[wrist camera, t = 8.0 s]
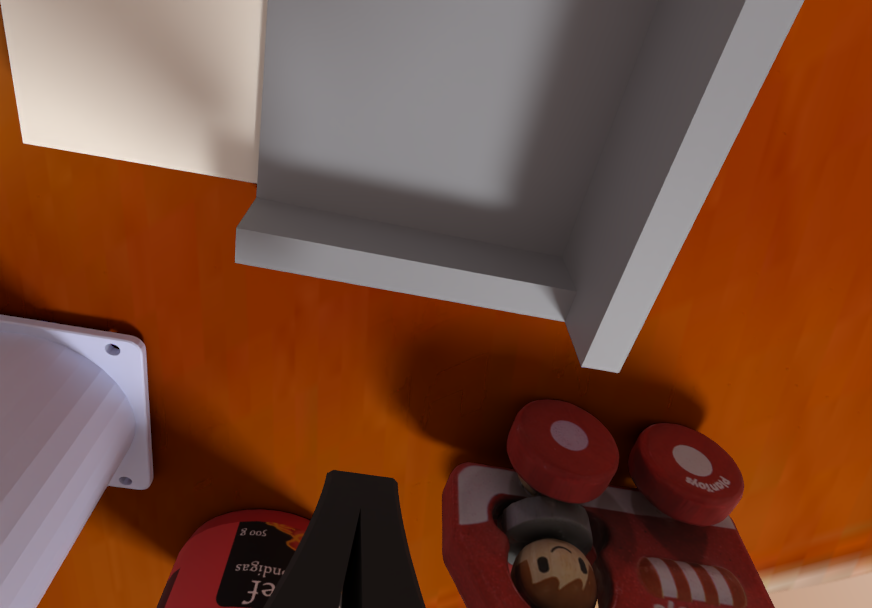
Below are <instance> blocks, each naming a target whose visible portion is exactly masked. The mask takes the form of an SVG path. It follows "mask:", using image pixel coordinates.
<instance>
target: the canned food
mask: <svg viewBox="0 0 872 608" xmlns="http://www.w3.org/2000/svg"><path fill="white" fill-rule="evenodd" d="M309 522H310V520H308V519H306V518H303V517H300V516H297V515H294V514H291V513H286V512H282V511H276V510H265V509H255V510H242V511H236V512H230V513H227V514H224V515H221V516H217V517H215V518H213V519H211V520H209V521H207V522H206V523H204V524H203V525H202V526H201V527H199V528H198V529H197V530H196V531H195V532H194V533H193V535H192V536H191V537H190V538H189V540H188V541H187V542H186V543H185V545H184V546H183V548H182V549H181V550H180V552H179V554H178V557H177V559H176V562H175V564H174V566H173V569H172V571H171V574H170V576H169V579H168V581H167V584H166V586H165V588H164V591H163V593H162V596H161V598H160V601H159V603H158V605H157V608H263V607H264V605H265V604H266V602H267V600H268V599H269V597H270V595H271V594H272V592H273V590H274V589H275V587H276V585H277V583H278V582H279V580H280V578H281V577H282V575H283V573H284V571H285V570H286V568H287V566H288V564H289V562H290V560H291V558H292V556H293V555H294V553H295V551H296V549H297V547H298V545H299V543H300V541H301V539H302V537H303V535H304V533H305V531H306V529H307V527H308V525H309ZM341 600H342V593H341V598H340V602H339V606H338V608H341Z"/></svg>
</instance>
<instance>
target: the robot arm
mask: <svg viewBox="0 0 872 608" xmlns="http://www.w3.org/2000/svg"><path fill="white" fill-rule="evenodd" d="M111 344H114V345H116V346H118V347H119V349H117V348H114V347H113V346H112V345H111ZM153 478H154V476H153V459H152V443H151V426H150V409H149V393H148V376H147V359H146V347H145V344H144V343H143V342H142V341H141V340H140V339H139V338H137V337H135V336H132V335H126V334H120V333H114V332H107V331H101V330H95V329H89V328H82V327H76V326H70V325H64V324H57V323H51V322H45V321H39V320H32V319H26V318H20V317H14V316H7V315H1V314H0V608H36V607H37V605H38V604H39V602H40V600H41V599H42V597H43V595H44V593H45V592H46V590H47V588H48V587H49V585H50V583H51V581H52V580H53V578H54V576H55V575H56V573H57V571H58V570H59V568H60V566H61V564H62V563H63V561H64V559H65V558H66V556H67V554H68V552H69V551H70V549H71V547H72V546H73V544H74V542H75V541H76V539H77V537H78V535H79V534H80V532H81V530H82V529H83V527H84V525H85V523H86V522H87V520H88V518H89V517H90V515H91V513H92V512H93V510H94V508H95V506H96V505H97V503H98V501H99V500H100V498H101V496H102V494H103V493H104V491H105V489H106V488H107V486H114V487H122V488H129V489H137V490H144V489H147V488H148V487H150V485H151V483H152V481H153ZM341 593H342V600H341V608H426V607H425V604H424V601H423V598H422V594H421V591H420V588H419V584H418V581H417V577H416V574H415V570H414V567H413V563H412V559H411V556H410V552H409V548H408V543H407V539H406V534H405V530H404V525H403V520H402V515H401V509H400V502H399V495H398V483H397V482H396V481H395V480H394V479H393V478H388V477H380V476H373V475H366V474H358V473H351V472H344V471H337V470H333V471H331V472H329V473H327V476H326V480H325V484H324V487H323V490H322V493H321V496H320V499H319V501H318V504H317V506H316V509H315V511H314V514H313V516H312V518H311V520H310V522H309V525H308V527H307V529H306V531H305V533H304V535H303V537H302V539H301V541H300V543H299V545H298V547H297V549H296V551H295V553H294V555H293V556H292V558H291V560H290V562H289V564H288V566H287V568H286V570H285V571H284V573H283V575H282V577H281V578H280V580H279V582H278V583H277V585H276V587H275V589H274V590H273V592H272V594H271V595H270V597H269V599H268V600H267V602H266V604H265V605H264V607H263V608H338V606H339V602H340V598H341Z"/></svg>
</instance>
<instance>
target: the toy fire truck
mask: <svg viewBox="0 0 872 608" xmlns="http://www.w3.org/2000/svg"><path fill="white" fill-rule="evenodd" d="M507 453H508V456H509V459H510V462H511V464H512V466H513V468H514V469H509V468H504V467H497V466H490V465H485V464H479V463H471V462H466V463H462V464H460V465H458V466H456V467H455V469H454V470H453V471H452V472H451V474H450V476H449V479H448V481H447V483H446V485H445V488H444V490H443V494H442V554H443V560H444V563H445V566H446V567H447V569H448V571H449V573H450V575H451V577H452V579H453V581H454V583H455V584H456V587H457V589H458V591H459V593H460V595H461V597H462V599H463V601H464V603H465V605H466V607H467V608H595V605H596V601H597V599H598V606H599V608H775V607H774V605H773V603H772V601H771V599H770V597H769V595H768V593H767V591H766V589H765V586H764V584H763V582H762V580H761V578H760V576H759V574H758V572H757V570H756V569H755V566H754V564H753V562H752V560H751V558H750V556H749V554H748V552H747V550H746V548H745V546H744V544H743V541H742V539H741V537H740V535H739V533H738V531H737V528H736V526H735V524H734V522H733V520H732V519H731V518H730V516H729V514H730V513H731V512H732V510H733V509H734V508H735V506H736V505H737V504H738V502H739V501H740V499H741V498H742V495H743V490H744V482H743V478H742V475H741V472H740V470H739V468H738V467H737V465H736V463H735V462H734V460H733V459H732V458H731V457H730V456H729V454H728V453H727V452H726V451H725V450H723V449H722V448H721V447H720V446H719V445H718V444H717V443H715V442H714V441H712V440H711V439H710V438H708V437H706V436H705V435H703V434H701V433H699V432H697V431H695V430H693V429H690V428H688V427H685V426H682V425H678V424H671V423H658V424H654V425H651V426H649V427H647V428H646V429H645V430H643V431H642V432H641V434H640V435H639V437H638V439H637V441H636V443H635V444H634V446H633V448H632V449H631V451H630V455H629V458H628V469H629V472H630V476H631V478H632V480H633V482H634V483H635V485H636V486H637V488H627V487H620V486H614V485H609V483H610V481H611V480H612V478H613V477H614V475H615V473H616V471H617V469H618V464H619V451H618V448H617V445H616V442H615V440H614V438H613V436H612V435H611V433H610V432H609V430H608V429H607V428H606V427H605V426H604V425H603V424H602V423H601V422H600V421H599V420H598V419H597V418H595V417H594V416H593V415H591V414H590V413H588V412H587V411H585V410H583V409H581V408H579V407H577V406H575V405H573V404H571V403H568V402H564V401H559V400H549V399H544V400H536V401H533V402H530V403H528V404H526V405H525V406H524V407H523V408H522V409H521V410H520V411H519V412H518V413H517V415H516V417H515V420H514V422H513V424H512V427H511V429H510V431H509V434H508V438H507Z"/></svg>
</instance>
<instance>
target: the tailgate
mask: <svg viewBox="0 0 872 608" xmlns="http://www.w3.org/2000/svg"><path fill="white" fill-rule="evenodd" d="M267 2H268V0H0V4H1V10H2V16H3V22H4V28H5V34H6V41H7V47H8V53H9V59H10V65H11V71H12V77H13V84H14V90H15V96H16V102H17V108H18V114H19V121H20V127H21V133H22V139H23V143H26V144H31V145H37V146H43V147H49V148H55V149H60V150H66V151H72V152H78V153H83V154H89V155H95V156H101V157H107V158H112V159H118V160H124V161H130V162H136V163H141V164H147V165H153V166H159V167H164V168H170V169H176V170H182V171H188V172H193V173H199V174H205V175H211V176H216V177H222V178H228V179H234V180H240V181H245V182H251V183H257V178H258V161H259V143H260V125H261V108H262V90H263V73H264V55H265V37H266V20H267Z"/></svg>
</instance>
